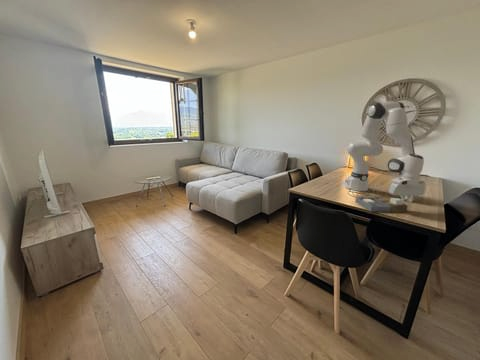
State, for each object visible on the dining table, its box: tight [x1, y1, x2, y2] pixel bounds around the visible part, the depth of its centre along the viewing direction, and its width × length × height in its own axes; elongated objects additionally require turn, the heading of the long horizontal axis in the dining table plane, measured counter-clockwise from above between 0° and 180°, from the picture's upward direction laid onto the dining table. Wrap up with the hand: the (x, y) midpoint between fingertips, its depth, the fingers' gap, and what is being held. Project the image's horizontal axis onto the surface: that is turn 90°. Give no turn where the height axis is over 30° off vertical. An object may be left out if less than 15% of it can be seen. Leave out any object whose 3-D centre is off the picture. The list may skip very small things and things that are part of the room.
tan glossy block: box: [374, 196, 409, 213], centre depth 130 cm, size 16×10×4 cm, turn 1°
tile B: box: [390, 197, 405, 205], centre depth 126 cm, size 5×5×2 cm
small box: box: [404, 195, 417, 203], centre depth 142 cm, size 8×6×10 cm
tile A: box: [363, 199, 375, 205], centre depth 134 cm, size 5×5×2 cm
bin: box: [354, 196, 391, 213], centre depth 130 cm, size 16×12×4 cm
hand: (404, 201), depth 126 cm, fingers closed
